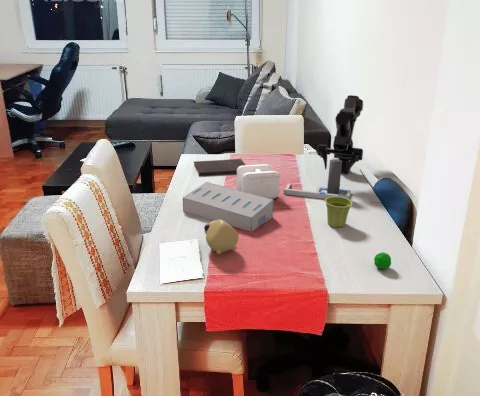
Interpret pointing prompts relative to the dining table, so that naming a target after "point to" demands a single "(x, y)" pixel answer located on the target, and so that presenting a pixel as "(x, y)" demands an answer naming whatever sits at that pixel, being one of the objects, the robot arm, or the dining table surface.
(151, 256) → the dining table surface
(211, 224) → the tan rounded figure
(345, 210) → the plant pot
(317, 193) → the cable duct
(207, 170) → the hardcover book
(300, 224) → the dining table surface
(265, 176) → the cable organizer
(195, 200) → the warehouse
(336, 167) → the grey bottle
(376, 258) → the polyhedron
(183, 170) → the dining table surface
